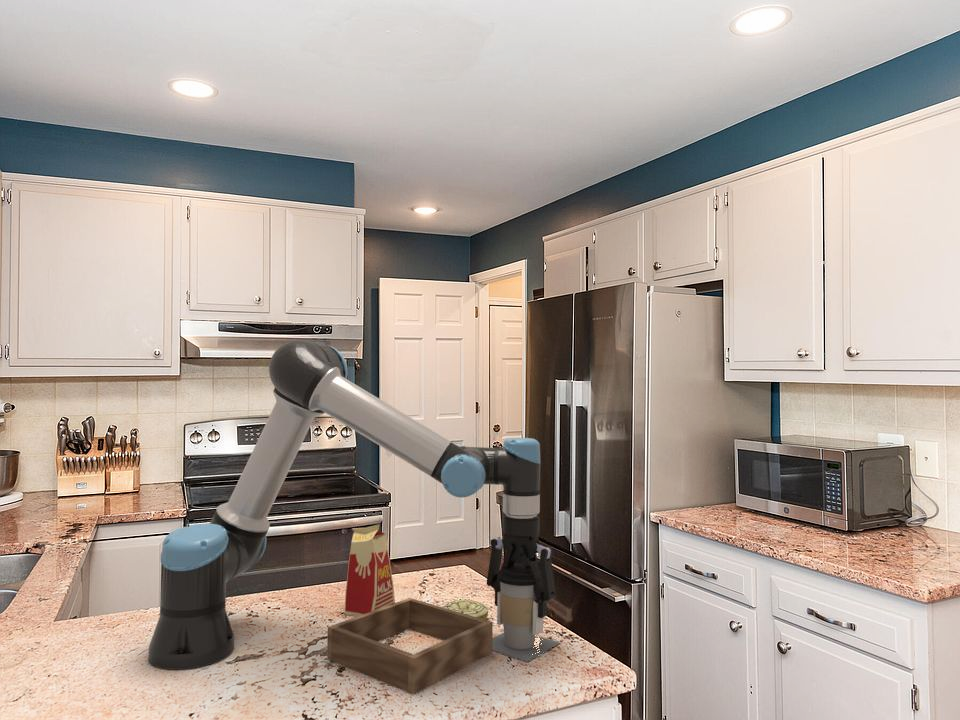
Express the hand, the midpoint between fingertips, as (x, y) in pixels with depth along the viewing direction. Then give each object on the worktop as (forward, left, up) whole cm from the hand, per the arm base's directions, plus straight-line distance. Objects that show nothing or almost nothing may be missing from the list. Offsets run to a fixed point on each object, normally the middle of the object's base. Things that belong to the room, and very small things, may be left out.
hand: (519, 627), depth 135 cm
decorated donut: (+3, +17, -4) cm, 18 cm away
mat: (0, 0, -3) cm, 3 cm away
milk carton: (-6, +38, -4) cm, 39 cm away
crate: (-18, +13, -3) cm, 22 cm away
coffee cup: (0, 0, -3) cm, 3 cm away
